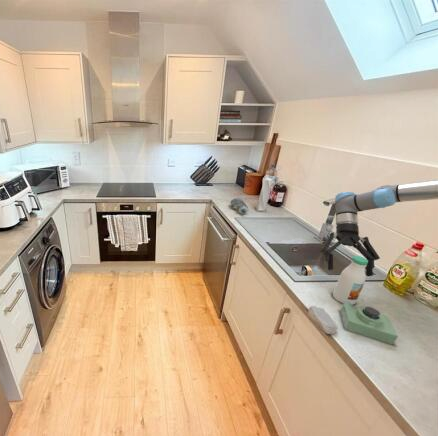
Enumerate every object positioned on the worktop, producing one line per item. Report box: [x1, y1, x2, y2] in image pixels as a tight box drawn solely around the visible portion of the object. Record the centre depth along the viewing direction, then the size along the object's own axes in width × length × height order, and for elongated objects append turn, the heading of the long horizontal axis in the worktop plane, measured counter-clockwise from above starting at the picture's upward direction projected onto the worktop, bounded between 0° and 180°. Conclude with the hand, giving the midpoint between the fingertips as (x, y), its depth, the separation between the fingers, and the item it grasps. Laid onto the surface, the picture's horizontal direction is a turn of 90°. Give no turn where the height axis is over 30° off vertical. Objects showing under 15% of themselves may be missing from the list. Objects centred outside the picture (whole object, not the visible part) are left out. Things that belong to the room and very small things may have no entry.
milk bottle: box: [332, 255, 368, 306], centre depth 95 cm, size 8×8×20 cm
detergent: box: [230, 197, 249, 215], centre depth 191 cm, size 13×7×25 cm
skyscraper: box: [255, 174, 274, 213], centre depth 188 cm, size 8×8×28 cm
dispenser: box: [339, 303, 399, 345], centre depth 85 cm, size 13×10×6 cm
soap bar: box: [307, 305, 339, 335], centre depth 87 cm, size 10×6×6 cm, turn 174°
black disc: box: [363, 306, 381, 319], centre depth 84 cm, size 4×4×2 cm
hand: (349, 272), depth 97 cm, fingers open, 13 cm apart
